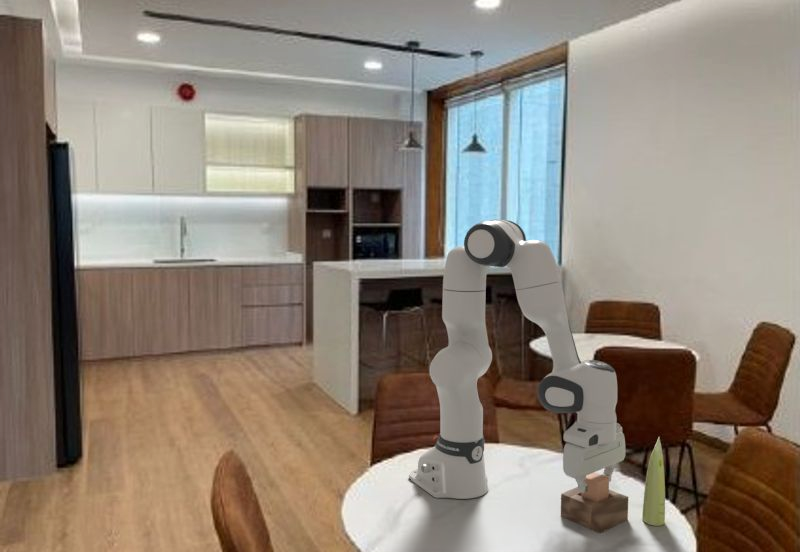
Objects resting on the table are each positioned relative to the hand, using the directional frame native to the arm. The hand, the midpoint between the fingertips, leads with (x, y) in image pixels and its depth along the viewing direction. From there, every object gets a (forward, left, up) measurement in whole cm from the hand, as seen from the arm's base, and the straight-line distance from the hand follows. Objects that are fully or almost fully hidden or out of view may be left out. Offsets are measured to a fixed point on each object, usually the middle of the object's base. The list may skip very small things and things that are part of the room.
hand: (594, 486), depth 155 cm
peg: (0, 0, -7) cm, 7 cm away
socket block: (0, 0, -8) cm, 8 cm away
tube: (+10, +9, -8) cm, 16 cm away
